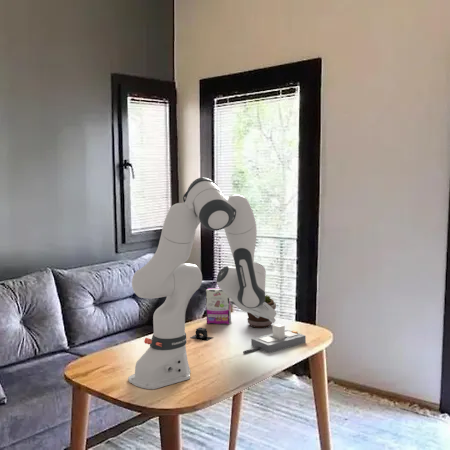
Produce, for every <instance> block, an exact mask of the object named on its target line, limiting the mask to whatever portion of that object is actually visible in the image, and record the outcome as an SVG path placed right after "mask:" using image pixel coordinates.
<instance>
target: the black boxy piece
mask: <svg viewBox="0 0 450 450" xmlns="http://www.w3.org/2000/svg"><path fill="white" fill-rule="evenodd" d="M189 339H193V340H197V341H198V340H199V341H204V342H208V341H210V340H213V339H214V337H213V336H208V330H207V328H205V327H198V328H196V329H195V334H194V335H192V336H190V337H189Z"/></svg>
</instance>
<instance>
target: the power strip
mask: <svg viewBox="0 0 450 450" xmlns="http://www.w3.org/2000/svg"><path fill="white" fill-rule="evenodd" d="M306 338H307V337H306V335H305V334H302V333H300V332H299V331H296V330H289V329H285V339H281V340H277V339H275V338H273V332H272V333H269V334H264V335H261V336H257V337H253V338H251V341H250V342H251V347H253V348H250V349H246V350H244V351H243V352H242V353H243V354H248V353H252V352H256V351H259V350H260V351H264V352H266V353H269V354H270V353H272V352H277V351H280V350H284V349H288V348H291V347H295V346H298V345H302V344H306V342H307V341H306Z"/></svg>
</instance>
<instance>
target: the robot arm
mask: <svg viewBox="0 0 450 450" xmlns="http://www.w3.org/2000/svg"><path fill="white" fill-rule="evenodd" d="M182 199H183V202H177V203H175V204H172V205H171V206H170V207H169V209H168V211H167V214H166V216H165V218H164V222H163V226H162V229H161V233H160V238H159V241H158V245H157V248H156V251H155V253H154V254H153V255H152V257H151V258H150V260H148V261H147V262H146V264H145V265H143V266H142V267H141V268H139V269H137V270H136V271H135V272H134V274H133V276H132V279H131V287H132V290H133V293H134V294H135V295H136V296H137V297H138V298H142V299H157V298H165V301H164V302H163V303H162V304H161V305H160V306H159V307H157V308H156V309H155V311H154V313H153V315H152V316H153V317H152V319H153V320H152V324H153V334H152V337H151V338H149V337H146V338H144V340H143V343H144V344H145V345H149V347H148V349H147V350H146V351H145V352H144V353H143V355H141V357H139V358H138V360H137V361H136V363H135V368H134V369H135V370H134V373H133V374H131V375H129V376H128V378H127V379H128V382H129V383H130V384H131V383H132V385H134V386H136V387H138V388H141V389H148V390H156V389H160V388H162V387H166V386H170V385H174V384H176V383H181V382H183V381H186V380H187V381H188V380H190V379H191V375H190V374H191V368H190V364H189V360H188V354H187V347H186V345H187V339H188V338H187V333H186V311H187V308H188V305H189V303H190V299H191V298H192V297H193V295H194V294H195V293H196V291H198V290H199V289H200V288H201V286H202V284H203V283H202V282H203V274H202V271H201V269H200V267H199V266H197V265H196V264H195V263H194V264H193V263H187V261H188V260H189V258H190V256H191V253H192V249H193V244H194V241H195V237H196V231H197V228H198V227H199V225H200V224H201V225H202V226H203V227H205V229H207V230H208V231H214V232H215V231H221V230H223V229H224V233H225V236H226V239H227V242H228V244H229V247H230V251H231V254H232V257H233V261H234V266H230V265H226V266H224V267H223V268H221V269H220V270H219V271H218V273H217V276H216V278H215V279H216V284H217V285H218V288H220V289H221V290H222V291H223V292H224V293H225V294H226V295H227V296H228V297H230V300H229V301H230V302H231V304H232V305H234V306H236V307H237V308H238V309H239V310H240V311H242V312H246V313H247V312H248V313H251V314H253V315H254V316H255V317H257V318H259V317H264V318H267V319H269V321H270V322H272V324H274V323H275V322H276V318H275V317H276V316H277V311H276V309H275V310H274V309H273V308H272V307H271V306H270V305H268V304H267V303H266V302H265V296H266V277H267V276H266V274H267V273H266V269H265V267H264V266H263V265H262V264H260V263H258V262H254V258H255V250H256V244H257V242H256V241H257V223H256V219H255V215H254V212H253V209H252V207H251V204H250V202H249V201H248V199H247V197H245V196H243V195H240V194H231V195H228V196H225V195H224V193H223V192H222V190H221V189H220V187H219V186H218V184H217V183H216V182H214V181H213V180H212V179H210V178H207V177H204V176H203V177H198V178H197V179H195V180H193V181H192V182H191V183H190V185H189V186H188V187H187V191H186V192H184V194H183V195H182Z"/></svg>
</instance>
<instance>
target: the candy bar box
mask: <svg viewBox="0 0 450 450" xmlns="http://www.w3.org/2000/svg"><path fill="white" fill-rule="evenodd" d="M229 300H230V297H228V296H227V295H226V294H225V293H224V292H223V291H222V290H221V289H220V287H217V288H216V287H215V288H214V287H213V288H212V287H211V288H210V287H209V288H207V289H205V302H206V304H205V306H206V307H205V309H206V310H205V311H206V324H207V325H230V324H231V323H232V309H231V307H232V306H231V304H232V303H231V302H230V301H229Z"/></svg>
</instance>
